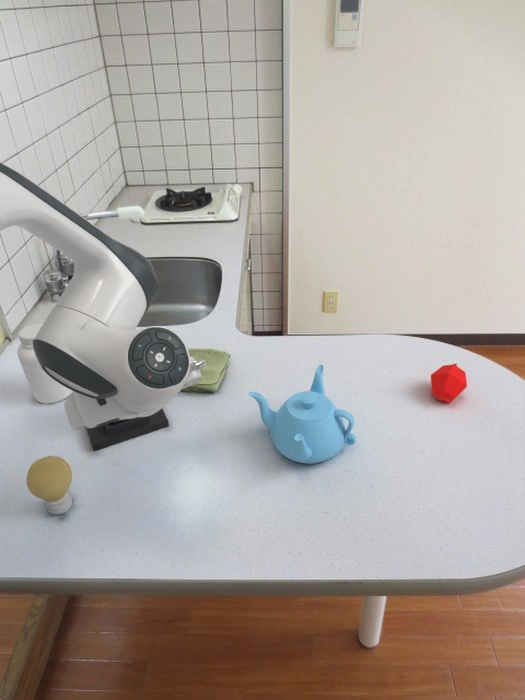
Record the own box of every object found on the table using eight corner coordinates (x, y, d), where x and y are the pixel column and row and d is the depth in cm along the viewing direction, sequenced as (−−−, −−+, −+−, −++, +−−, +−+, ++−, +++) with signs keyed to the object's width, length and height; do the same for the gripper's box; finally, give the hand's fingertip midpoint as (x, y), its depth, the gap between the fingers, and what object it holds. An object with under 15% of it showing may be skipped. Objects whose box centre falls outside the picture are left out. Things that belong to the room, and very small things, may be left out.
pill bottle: (34, 385, 110) (12, 324, 101) (74, 377, 112) (55, 316, 103) (32, 408, 103) (8, 346, 95) (74, 399, 105) (55, 337, 97)
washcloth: (219, 396, 104) (218, 383, 103) (135, 390, 107) (132, 378, 105) (232, 358, 115) (231, 346, 113) (155, 353, 118) (153, 341, 116)
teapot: (366, 453, 90) (371, 408, 84) (291, 488, 85) (291, 442, 79) (319, 405, 101) (321, 362, 95) (250, 433, 95) (247, 389, 90)
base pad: (93, 451, 93) (89, 439, 91) (83, 418, 101) (79, 406, 99) (169, 426, 98) (166, 414, 96) (154, 395, 105) (151, 384, 104)
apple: (457, 392, 95) (472, 358, 98) (421, 384, 99) (436, 352, 102) (463, 413, 99) (476, 380, 103) (428, 405, 103) (442, 373, 107)
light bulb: (38, 528, 80) (18, 484, 74) (41, 496, 85) (23, 452, 80) (81, 518, 81) (65, 474, 76) (82, 487, 86) (67, 443, 81)
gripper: (200, 339, 77) (182, 361, 89) (59, 388, 69) (60, 404, 81) (217, 379, 76) (195, 395, 89) (76, 432, 68) (74, 442, 81)
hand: (130, 400), depth 85 cm, fingers open, 8 cm apart
